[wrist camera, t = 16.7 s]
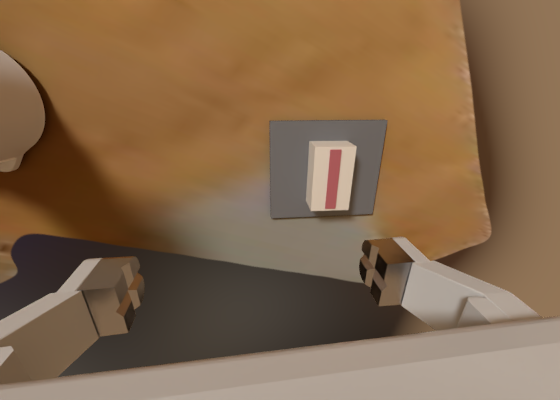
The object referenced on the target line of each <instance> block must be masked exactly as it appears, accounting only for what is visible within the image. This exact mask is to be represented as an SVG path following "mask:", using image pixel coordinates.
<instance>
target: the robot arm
mask: <svg viewBox="0 0 560 400" xmlns="http://www.w3.org/2000/svg"><path fill="white" fill-rule="evenodd" d="M44 125H45V111H44V106H43V102H42V99H41V96H40V94H39V92H38V90H37V88H36V86H35V84H34V83H33V81H32V80H31V78H30V77H29V76H28V74H27V73H26V72H25V71H24V70H23V68H22V67H21V66H20V65H19V64H18V63H17V62H15V61H14V60H13V59H12V58H11V57H9V56H8V55H7V54H6V53H4V52H3V51H1V50H0V171H2V172H10V171H14V170H16V169H18V167H19V166H20V164H21V161H22V158H23V155H24V153H25V152H26V151H27V150H29V149H30V148H31V147H32V146H34V145H35V144H36V142H37V141H38V140H39V138H40V137H41V135H42V132H43V129H44ZM362 251H363V253H364V255H363V257H362V258H361V259H360V264H359V270H360V275H361V278H362V280H363V282H364V283H365V284H366V285H367V286H369V287H371V290H370V293H371V295H372V296H373V298H374V300H375V301H376V303H377V304H378V306H388V305H402V306H403V307H404V308H405V309H407V310H408V311H410V312H411V313H412V314H414V315H415V316H416V317H418V318H419V319H421V320H422V321H423V322H425V323H426V324H428V325H429V326H430V327H432V328H433V329H435V330H436V331H431V332H423V333H416V334H407V335H399V336H391V337H383V338H375V339H366V340H358V341H350V342H341V343H333V344H325V345H316V346H308V347H300V348H293V349H284V350H276V351H268V352H259V353H251V354H243V355H235V356H227V357H219V358H212V359H203V360H195V361H187V362H179V363H170V364H162V365H154V366H146V367H138V368H130V369H122V370H113V371H106V372H97V373H89V374H81V375H73V376H65V377H57V376H59V375H60V374H61V373H62V372H63V371H64V370H65V369H66V368H67V367H68V366H69V365H70V364H72V363H73V362H74V361H75V360H76V359H77V358H78V357H79V356H80V355H81V354H82V353H83V352H85V351H86V350H87V349H88V348H89V347H90V346H91V345H92V344H93V343H94V342H95V341H96V340H97V339H98V338H99V337H100V336H107V335H115V334H123V333H128V332H129V330H130V328H131V326H132V323H133V321H134V319H135V317H136V314H135V311H134V310H135V309H136V308H137V307H139V306H140V305H141V303H142V300H143V297H144V290H145V288H144V280H143V277H142V276H141V275H140V274H138V273H137V272H138V270H139V268H140V264H139V261H138V258H137V257H135V256H133V257H112V258H95V259H87V260H84V261H83V262H82V263H81V265H80V266H79V267H78V268H77V269H76V270H75V271H74V273H73V274H72V275H71V276H70V277H69V278H68V280H67V281H66V282H65V283H64V284H63V286H62V287H61V288H60V289H59V290H58V291H57V292H56V293H50V294H49V295H47V296H45V297H43V298H41V299H39V300H37V301H36V302H34V303H32V304H30V305H28V306H26V307H25V308H23V309H21V310H19V311H17V312H15V313H13V314H12V315H10V316H8V317H6V318H4V319H2V320H1V321H0V400H560V316H553V317H545V318H542V317H541V316H540V315H539V314H537V313H536V312H535V311H533V310H532V309H531V308H530V307H528V306H527V305H526V304H525V303H523V302H522V301H521V300H520V299H518V298H517V297H516V296H514V295H513V294H512V293H511V292H508V291H506V290H504V289H501V288H499V287H496V286H494V285H491V284H489V283H487V282H484V281H481V280H479V279H477V278H474V277H472V276H470V275H467V274H465V273H462V272H460V271H457V270H455V269H453V268H450V267H448V266H445V265H443V264H440V263H438V262H436V261H429V260H428V259H427V258H426V257H425V256H424V255H423V254H422V253H421V252H420V251H419V250H418V249H417V248H416V247H415V246H413V245H412V244H411V243H410V242H409V241H408V240H407V239H406V238H404V237H393V238H386V239H374V240H364V242H363V244H362Z"/></svg>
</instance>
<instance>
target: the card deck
mask: <svg viewBox="0 0 560 400" xmlns="http://www.w3.org/2000/svg"><path fill="white" fill-rule="evenodd" d="M356 148H357V146H355V145H353V144H352V143H350V142H349V141H309V156H308V173H307V190H306V202H307V204H308V206H309V208H310V210H311V211H331V210H348V209H349V202H350V194H351V186H352V179H353V171H354V163H355V156H356Z"/></svg>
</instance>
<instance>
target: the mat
mask: <svg viewBox="0 0 560 400" xmlns="http://www.w3.org/2000/svg"><path fill="white" fill-rule="evenodd" d="M386 126H387V120H309V121H270V202H271V218H291V217H313V216H336V215H359V214H372V213H373V207H374V201H375V194H376V188H377V182H378V176H379V170H380V163H381V157H382V151H383V145H384V139H385V132H386ZM309 141H349V142H350V143H352V144H353V145H355V146H357V148H356V156H355V163H354V171H353V179H352V186H351V194H350V202H349V209H348V210H331V211H311V210H310V208H309V206H308V204H307V202H306V190H307V173H308V156H309Z"/></svg>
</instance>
